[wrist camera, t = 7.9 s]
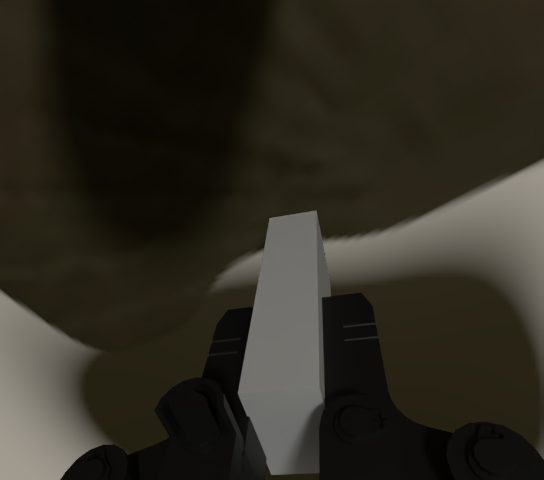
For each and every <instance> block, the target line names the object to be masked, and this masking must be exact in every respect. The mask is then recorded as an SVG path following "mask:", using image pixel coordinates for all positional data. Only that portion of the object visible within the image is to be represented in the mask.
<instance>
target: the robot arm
mask: <svg viewBox="0 0 544 480" xmlns="http://www.w3.org/2000/svg"><path fill="white" fill-rule="evenodd" d="M155 412H156V414H157V416H158V418H159V419H160V421H161V423H162V424H163V426H164V428H165V429H166V431H167V433H168V434H169V436H170V437H169V438H168V439H166V440H164V441H162V442H160V443H158V444H155V445H153V446H150V447H148V448H145V449H142V450H140V451H137V452H134V453H132V454H129V455H127V454H126V453H125V451H124V450H123V449H122V448H120V447H118V446H116V445H102V446H99V447H97V448H94V449H91V450H89V451H88V452H86V453H85V454H84V455H82V456H81V457H79V458H78V459H77V460H76V461H75V462H74V463H73V465H72V466H71V467H70V468H69V469H68V470H67V471H66V472H65V474H64V475H63V477H62V478H61V480H264V479H265V469H266V463H267V465H268V467H269V470H270V473H271V475H280V474H281V475H282V474H307V473H319V474H320V480H544V460H543V459H542V457H541V456H540V454H539V453H538V452H537V451H536V449H535V448H534V447H533V446H532V445H531V444H530V443H528V442H527V441H526V440H525V439H524V438H523V437H522V436H521V435H519V434H518V433H516V432H514V431H512V430H510V429H509V428H507V427H505V426H503V425H497V424H493V423H489V422H476V423H468V424H466V425H464V426H463V427H461V428H459V429H457V430H455V432H454V433H451V432H446V431H442V430H438V429H434V428H430V427H427V426H424V425H421V424H418V423H415V422H414V421H412V420H411V419H409V418H407V417H406V416H404V415H403V414H402V413H401V412H400V411H399V410H398V409H397V408H396V406H395V405H394V403H393V402H392V400H391V398H390V395H389V392H388V387H387V382H386V377H385V371H384V367H383V361H382V355H381V350H380V344H379V339H378V334H377V328H376V323H375V318H374V312H373V307H372V305H371V304H370V302H369V301H368V300H367V299H366V298H365V297H364V295H363V294H362V293H355V294H347V295H338V296H331V294H330V278H329V274H328V268H327V263H326V258H325V253H324V247H323V242H322V237H321V232H320V227H319V221H318V216H317V211H311V212H305V213H299V214H293V215H287V216H280V217H274V218H270V220H269V225H268V231H267V236H266V242H265V247H264V253H263V258H262V264H261V269H260V275H259V280H258V286H257V291H256V297H255V302H254V307H248V308H240V309H232V310H228V311H227V312H226V313H225V315H224V316H223V317H222V318H221V320H220V321H219V322H218V324H217V326H216V329H215V333H214V337H213V343H212V344H211V347H210V351H209V357H208V358H207V361H206V365H205V369H204V372H203V376H202V378H193V379H189V380H186V381H183V382H181V383H180V384H178V385H176V386H174V387H173V388H171V389H170V390H169V391H168V392H167V393H166V394H165V395H164V396H163V397H162V398H161V400H160V401H159V403H158V405H157V407H156V408H155Z"/></svg>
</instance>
